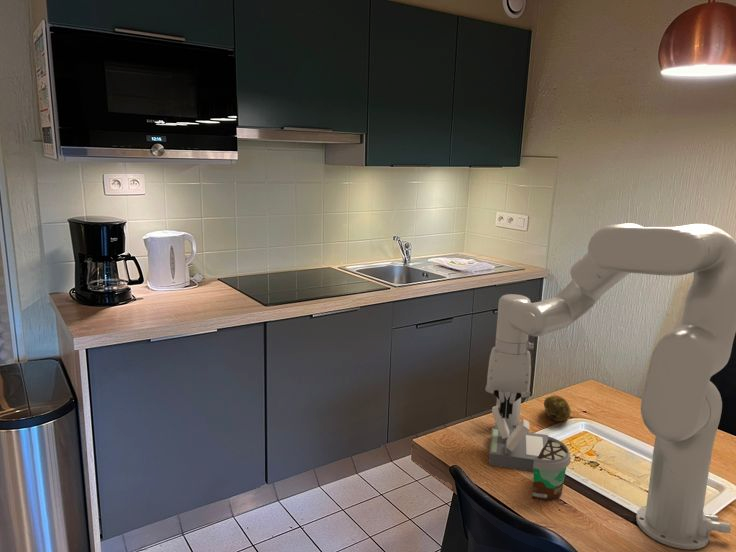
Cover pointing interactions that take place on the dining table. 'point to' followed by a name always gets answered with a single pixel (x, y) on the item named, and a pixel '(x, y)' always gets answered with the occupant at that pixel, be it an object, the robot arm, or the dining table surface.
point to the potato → (557, 408)
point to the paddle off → (517, 436)
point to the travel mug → (515, 415)
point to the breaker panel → (516, 450)
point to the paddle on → (500, 422)
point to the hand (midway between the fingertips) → (505, 415)
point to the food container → (550, 470)
